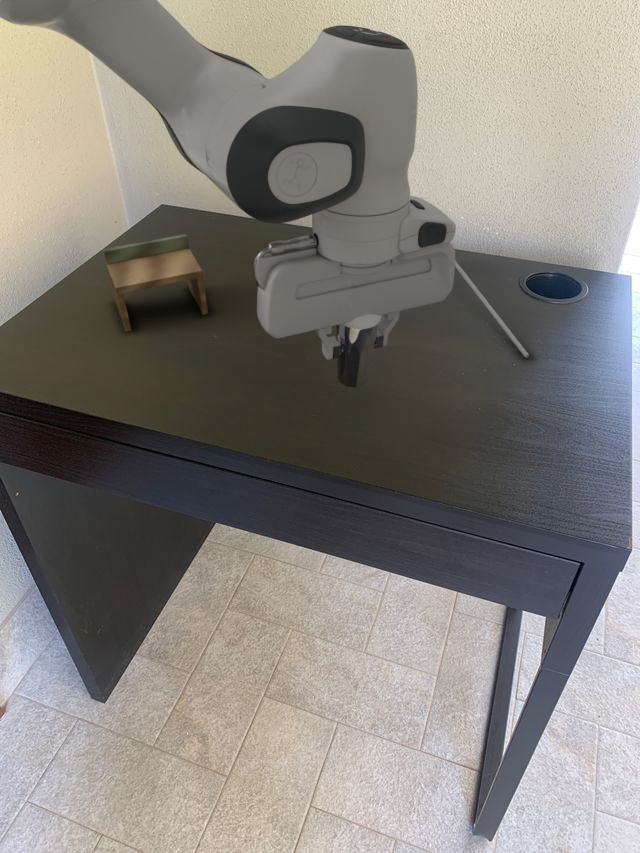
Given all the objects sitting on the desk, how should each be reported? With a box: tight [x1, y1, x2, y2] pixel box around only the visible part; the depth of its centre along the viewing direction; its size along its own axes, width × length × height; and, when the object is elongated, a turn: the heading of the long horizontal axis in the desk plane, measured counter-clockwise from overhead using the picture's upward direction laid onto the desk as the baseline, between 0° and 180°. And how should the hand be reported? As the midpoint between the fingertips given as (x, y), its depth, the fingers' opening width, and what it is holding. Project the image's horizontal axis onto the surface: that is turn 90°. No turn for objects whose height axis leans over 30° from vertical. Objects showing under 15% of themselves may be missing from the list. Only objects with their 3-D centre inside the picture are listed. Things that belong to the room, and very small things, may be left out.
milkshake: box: [336, 314, 381, 389], centre depth 71 cm, size 4×5×10 cm
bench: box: [102, 233, 209, 333], centre depth 98 cm, size 12×8×9 cm, turn 112°
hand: (354, 350), depth 72 cm, fingers closed on milkshake, 4 cm apart
